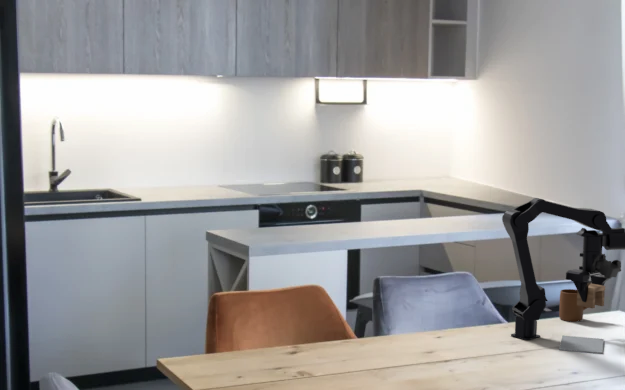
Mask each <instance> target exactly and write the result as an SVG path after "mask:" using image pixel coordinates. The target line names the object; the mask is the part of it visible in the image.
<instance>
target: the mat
mask: <svg viewBox="0 0 625 390" xmlns="http://www.w3.org/2000/svg"><path fill="white" fill-rule="evenodd" d="M604 340H605V339H604V338H600V337H599V338H598V337H597V338H596V337H585V336H574V335H565V334H564V335H562V337H561V340H560V344H559V347H558V350H559V351H565V352H566V351H567V352H577V353H578V352H579V353H586V354H587V353H588V354H599V355H603V352H604V351H603V350H604Z"/></svg>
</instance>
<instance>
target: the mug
mask: <svg viewBox="0 0 625 390" xmlns="http://www.w3.org/2000/svg"><path fill="white" fill-rule="evenodd" d="M559 293H560V294H559V307H558V308H559V311H558V312H559V313H558V314H559V315H558V317H559V319H560V320H561V321H564V322H570V321H571V322H573V323H574V322H581V321H583V319H584V311H585V310H586V309H589V308H588V307H583V306H578V305H577V289H571V288H568V289H567V288H566V289H561V290H560V292H559Z"/></svg>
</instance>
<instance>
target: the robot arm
mask: <svg viewBox="0 0 625 390" xmlns="http://www.w3.org/2000/svg"><path fill="white" fill-rule="evenodd" d="M542 213H543V214H548V215H553V216H555V217H560V218H563V219H564V218H565V219H568V220H572V221H574V222H576V223H578V224H580V225H582V226H584V227H581V228H580V230H579V231H577V232H576V235H577V236H578V237H582V252H580V253H579V257H581V259H582V264H581V265H580V266H579V268H578V269H577V268H574V269H569V270H567V271H566V272H565V279H566V280H568V281H571V282H573V284H574V286H575V288H576V290H578V292H579V295H580V297H581V299H582V301H583V302H586V300H587V294H588V286H589V285H590V284H597V285H602V286H605V283H607V281H609V280H611V279H612V278H616V277H617V276H618V273H620V272H622V262H621V260H618V259H614V260H607V259H606V257H607V256H606V254H605V253H603V248H604V250H606V251H623V250H625V228H624V227H615V228H612V227H611V225H610V224H609V223H608V221H607V215H606V213H604V211H600V210H597V209H593V208H586V207H585V208H584V207H571V206H567V205H564V204H560V203H555V202H551V201H547V200H545V199H543V198H538V197H534V198H533V199H531V200H529V201H528V202H525V203H523V204H521V205H518V206H517V207H515V208H513V209H512V208H511V209H508V210H506V211H505V212H504V213H503V214H502V217H501V220H502V224H503V226H504V228H505V231H506V233H507V235H508V236H509V238H510V240H511V243H512V248H513V251H514V257H515V261H516V266H517V270H518V275H519V276H518V277H519V279H520V289H519V300H518V301H517V302H516V304H514V306H512V307H511V309H512V313H513V314H514V315H516V316H515V318H514V319H515V323H514V324H515V327H514V333H510V337H514V338H517V339H522V340H526V341H530V340H533V339H538V338H540V337H541V335H540V334H537V333H538V332H537V329H538V321H539V320H540V318H541V316H542V313H543V311H544V310H545V309H546V308H547V302H549V301H548V299H547V296H546V289H545V288H544V286H543V287H542V286H541V285H538V284H537V283H538V282H537V279H536V274H535V270H534V265H533V262H532V261H533V260H532V256H531V252H530V246H529V243H528V236H529V235H528V234H529V232H530V231H529V230H530V229H529V228H530V227H529V226H530V225H529V224H530V223H531V222H532V221H534V220H535V219H536V218H537V217H538V216H539V215H541V214H542ZM585 227H587V228H589V229H590V230H589V229H588V230H587V228H585ZM591 229H592V230H591ZM597 231H600V232H597Z"/></svg>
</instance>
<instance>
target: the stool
mask: <svg viewBox="0 0 625 390" xmlns="http://www.w3.org/2000/svg"><path fill="white" fill-rule="evenodd" d="M576 290H577V289H576ZM605 292H606V286H605V285H604V286H602V285H597V284H592V283H591V284H590V285H589V286H588V294H587V300H586V302H583V301H582V299H581V297H580V295H579V292H578V290H577V305H578V306H583V307H588V308H587V309H595V307H596V306H597V307H605V294H606V293H605Z"/></svg>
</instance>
